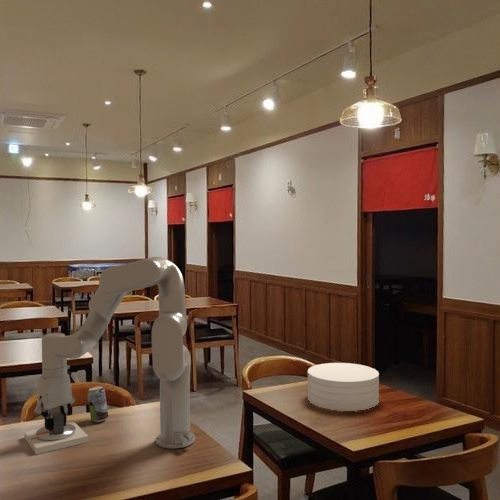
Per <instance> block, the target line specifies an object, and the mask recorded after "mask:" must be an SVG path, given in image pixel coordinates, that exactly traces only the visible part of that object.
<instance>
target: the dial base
mask: <svg viewBox="0 0 500 500" xmlns="http://www.w3.org/2000/svg"><path fill="white" fill-rule="evenodd" d="M66 424H72V425H74V426H75V433H74V434H73V435H71V436H69V437H67V438H64V439H59V440H52V441H45V440H40V439H38V438H37V437H36V432H37V430H39V429H40V428H36V429H31V430H26V431H24V432H23V433H24V439H25V440H26V442H27V443H28V444H29V447H30V448H31V449H32V451H33V452H34V453H35V455H39V454H43V453H48V452H53V451H56V450H62V449H64V448H65V449H66V448H69V447H70V448H71V447H73V446H79V445H82V444H86V443H89V435H88V434H87V433H86V432H85V431H84V430H83V429H82V428H81V427H80V426H79V425H78V424H77V423H76V422H75V421H67V422H66Z"/></svg>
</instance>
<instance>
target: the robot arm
mask: <svg viewBox="0 0 500 500" xmlns="http://www.w3.org/2000/svg"><path fill="white" fill-rule="evenodd" d="M98 284H99V286H98V288H97V289H96V291H95V293H94V294H92V297H91V299H90V300H89V302H88V309H89V312H88V315H87V316H86V318H85V321H83V324H82V325H81V326H80V328H79V329H78V331H76V332H74V333H72V334H70V335H66V334H65V333H62V332H51V333H47V334H45V335H43V336H42V338H41V364H42V365H41V369H42V373H41V375H42V376H41V377H40V378H39V381H38V384H37V385H38V386H37V393H36V394H37V395H36V398H37V399H36V401H37V402H36V406H35V409H34V410H33V412H34V413H36V414H38V415H40V416H42V418H44V427H45V428H46V429H47V430H49V431H52V430H53V427H52V418H51V412H52V409H53V408H59V410H60V411H61V412H62V413H63V415H64V426H66V423H67V422H68V421H67V420H68V419H67V415H68V414H69V413H68V412H69V410H70V408H71V407H72V405H73V404H74V403H75V402H76V398H75V397H74V395H73V393H72V383H71V379H70V375H69V373H68V370H70V368H71V365H70V364H67V363H68V359H69V360H70V359H71V360H72V359H79V358H81V357H83V356H84V355H85V354H87V353H88V352H90V351H92V349H94V348H95V346H96V345H97V343H98V342H99V340H100V339H101V337H102V336H103V334H104V333H105V331H106V329H107V327H108V325H109V323H110V322H111V319H112V317H113V315H114V314H115V312H116V310H117V309H118V308H119V306H120V304H121V303H122V301H123V300H124V298H125V297H126V295H127V293H129V292H132V291H136V290H141V289H145V288H149V287H153V286H156V285H157V287H158V317H156V319H155V320H154V322H153V324H152V328H151V354H152V355H151V356H152V357H151V358H152V368H153V371H154V374H155V375H156V377H158V378H159V414H160V415H159V417H160V418H159V419H160V421H159V423H160V424H159V425H160V426H159V427H160V430H159V431H160V433H159V434H158V435H157V436H156V437H155V444H156V445H157V446H158V447H160V448H164V449H173V450H174V449H175V450H176V449H182V448H185V447H188V446H191V445H192V444H194V443H195V441H196V435H195V434H194V433H193V432H191V397H190V396H191V390H190V388H191V364H192V361H191V353H190V351H189V349H188V347H186V346H185V345H184V335H185V334H186V332H187V329H188V321H187V307H186V306H187V305H186V304H187V303H186V290H185V288H186V287H185V282H184V277H183V274H182V272H181V270H180V268H178V266H177V265H176V264H175V263H173V262H172V261H170V260H169V259H166V258H164V257H161V256H152V257H148V258H143V259H140V260H136V261H132V262H128V263H124V264H120V265H115V266H114V265H113V266H110V267H107V268H105V269H104V270H103V271H102V272H101V273H100V275H99V279H98ZM42 408H43V410H42Z"/></svg>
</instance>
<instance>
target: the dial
mask: <svg viewBox="0 0 500 500" xmlns="http://www.w3.org/2000/svg"><path fill="white" fill-rule="evenodd" d="M51 418H52V427H53V430H52V431H49V430H47V429H46V428H45V426H43V427H41V428H38V429H39V430H37V432H36V437H37V438H38V439H40V440H45V441H52V440H59V439H64V438H67V437H69V436H71V435H73V434H74V433H75V426H74V425H72V424H66V426H64V415H63V413H62V412H61V411H60V408H59V407H56V408H53V409H52V412H51Z"/></svg>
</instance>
